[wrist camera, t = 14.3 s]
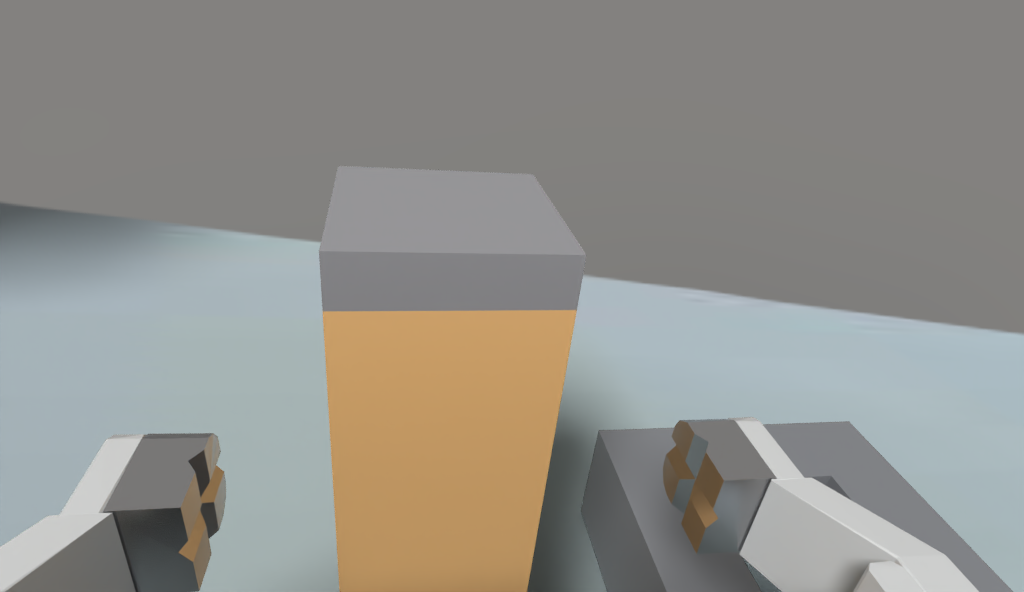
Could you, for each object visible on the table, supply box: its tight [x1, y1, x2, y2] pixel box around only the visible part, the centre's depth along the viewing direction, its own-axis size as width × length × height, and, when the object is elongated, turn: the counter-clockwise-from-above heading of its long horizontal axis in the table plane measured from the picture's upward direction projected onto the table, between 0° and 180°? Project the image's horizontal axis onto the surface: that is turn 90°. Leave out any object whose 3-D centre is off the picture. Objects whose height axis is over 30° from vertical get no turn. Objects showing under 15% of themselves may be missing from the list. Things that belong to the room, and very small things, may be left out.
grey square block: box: [581, 421, 1013, 592], centre depth 18 cm, size 10×10×4 cm
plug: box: [319, 166, 586, 592], centre depth 14 cm, size 4×4×14 cm
